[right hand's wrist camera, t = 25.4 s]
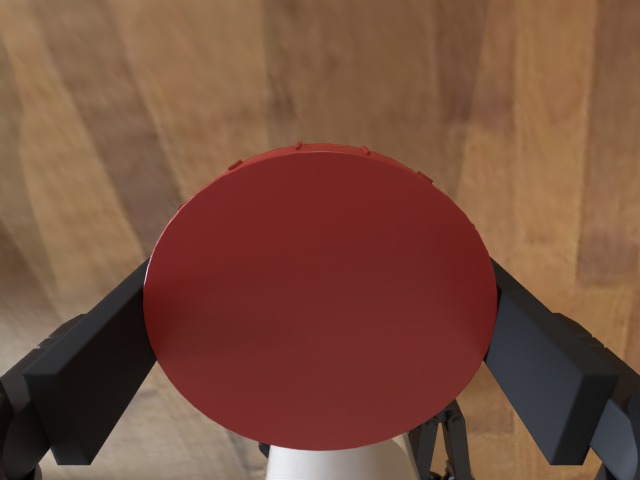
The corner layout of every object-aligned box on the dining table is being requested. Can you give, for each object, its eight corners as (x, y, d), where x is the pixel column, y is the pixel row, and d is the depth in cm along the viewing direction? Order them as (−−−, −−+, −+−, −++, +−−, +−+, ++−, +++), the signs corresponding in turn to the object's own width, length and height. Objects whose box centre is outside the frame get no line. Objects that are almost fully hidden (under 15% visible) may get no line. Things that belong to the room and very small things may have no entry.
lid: (483, 120, 10) (516, 123, 8) (465, 401, 14) (485, 441, 12) (123, 161, 10) (87, 172, 9) (207, 422, 14) (192, 463, 13)
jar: (265, 378, 33) (201, 719, 15) (311, 301, 30) (300, 618, 11) (354, 412, 35) (393, 754, 16) (406, 342, 31) (527, 674, 13)
